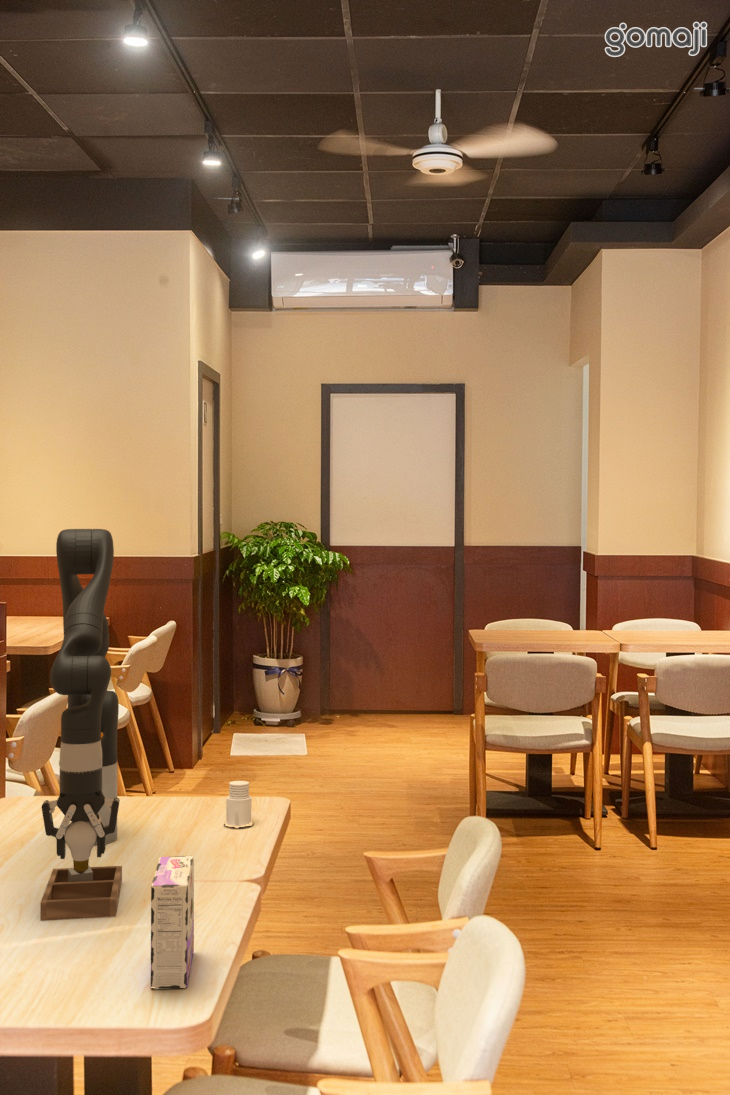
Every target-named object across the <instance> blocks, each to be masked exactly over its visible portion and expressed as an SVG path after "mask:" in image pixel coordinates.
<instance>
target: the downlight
mask: <svg viewBox="0 0 730 1095" xmlns="http://www.w3.org/2000/svg"><path fill="white" fill-rule="evenodd" d="M228 785H229V786H228V787H229V788H228V794H229V795H227V796H226V802H225V804H226V807H225V808H226V809H225V810H226V812H225V813H226V817H225V819H226V821H225V822H226V823H227V824H228V825H233V826H241V825H246V824H249V823H250V822H251V821H252V796H251V795H250V782H249V781H246V780H234V781H230V782H229V784H228Z"/></svg>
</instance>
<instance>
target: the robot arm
mask: <svg viewBox="0 0 730 1095" xmlns="http://www.w3.org/2000/svg"><path fill="white" fill-rule="evenodd" d="M55 543H56V546H55V547H56V548H55V550H56V561H57V562H56V563H57V569H58V575H59V576H58V578H59V584H60V589H61V590H60V591H61V597H62V598H61V600H62V618H63V620H62V622H63V623H62V624H63V626H62V627H63V640H62V644H61V647H60V649H59V652H58V653H57V655H56V657H55V660H54V661H53V664H52V667H51V669H50V675H49V680H50V685H51V688H52V689H53V691H54V692H55V693H56V694H58V695H60V696H67V709H65V710H63V711H62V713H61V715H60V748H59V749H60V750H59V760H58V766H59V796H58V797H57V799H55V800H48V799H47V800H44V801H43V803H42V804H41V813H42V819H43V826H44V831H45V832H44V833H45V836H47V837H53V838H55V840H56V855H57V856H58V857H59V858H60V860H64V859H66V856H67V855H66V852H67V850H66V846H67V845H66V842H65V838H64V834H65V831H66V829H67V827H68V825H69V824H70V823H71V822H78V821H84V822H89V821H91V823H92V825H93V827H94V828H95V830H96V832H97V834H98V837H97V841H96V843H95V845H94V846H96V857H97V858H102V855H104V854H105V852H106V849H107V848H106V845H107V844H109V843H112V842H114V841H115V840H117V839H118V816H119V814H118V813H119V807H120V803H121V800H120V798H119V797H118V726H119V725H118V724H119V708H120V707H119V706H120V705H119V697H118V695H117V693H116V692H115V691H114V690H108V688H109V685H110V680H111V678H112V677H111V676H112V666H111V664H110V662H109V661H108V659H107V658H106V656H107V654H108V651H109V649H110V648H109V647H110V633H109V632H110V630H109V621H108V618H107V616H106V614H105V613H104V612H105V606H106V601H107V599H108V598H107V597H108V593H109V588H110V584H111V577H112V573H113V572H112V571H113V565H114V560H115V559H114V558H115V557H114V556H115V554H114V553H115V551H114V547H115V546H114V540H113V536H112V533H111V532H110V531H109V530H107V529H104V528H69V529H63V530H61V531H60V532H58V535H57V538H56V542H55ZM78 575H93V576H92V577H91V580H90V581H89V582H88V584H87V585H86V586H85V588H84V587H83V586H82V583H81V581H80V578H79V577H78ZM56 807H58V809H59V810H60V811H61V813H62V814H63V815H64V817H63V819H62V821H61V822H60V826H59V827H58V828H57V827H55V824H54V820H53V814H54V812H55V811H56Z"/></svg>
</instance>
